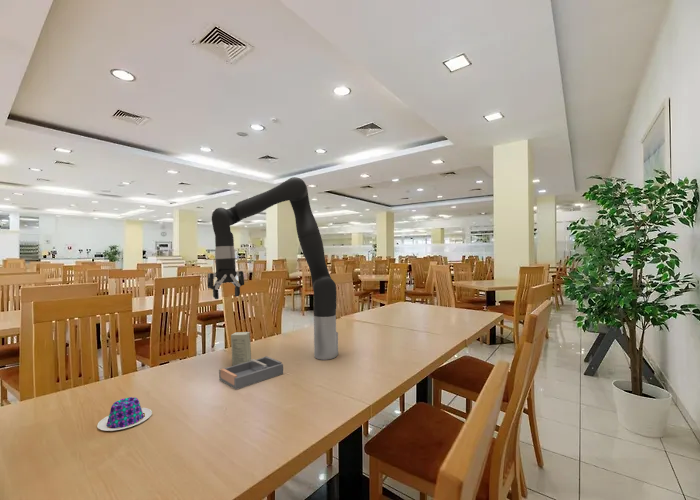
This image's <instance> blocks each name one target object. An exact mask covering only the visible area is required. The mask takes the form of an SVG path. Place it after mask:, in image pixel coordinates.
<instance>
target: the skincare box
mask: <svg viewBox="0 0 700 500" xmlns="http://www.w3.org/2000/svg"><path fill="white" fill-rule="evenodd" d="M230 343H231V345H230V346H231V347H230V348H231V362H232V363H231V366H234V365H238V364H242V363H245V362H249V361H250V360H251V359H252V349H251V348H252V347H251V346H252V345H251V331H241V332H240V331H239V332H238V331H237V332H236V331H235V332H234V333H232V334H230Z"/></svg>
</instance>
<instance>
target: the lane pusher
mask: <svg viewBox="0 0 700 500" xmlns="http://www.w3.org/2000/svg"><path fill="white" fill-rule="evenodd" d="M250 367H251V369H252V370H254V371H258V370H262V369H265V368H267V364H264V363H262V362H259V361H257V360H256V359H255V358H251V360H250Z"/></svg>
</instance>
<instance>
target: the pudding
mask: <svg viewBox="0 0 700 500" xmlns="http://www.w3.org/2000/svg"><path fill="white" fill-rule="evenodd" d="M143 413H145V417H144V414H143ZM152 414H153V411H152V410H151V409H150V408H147V407H141V403H140V400H139V399H138V398H137V397H129V396H128V397H126V398H125V397H124V398H120V399H119V400H115V402H114V403H113V404H112V405H111V407H110V411H109V415H107V416H105V417H104V418H102V419H101V420H99V421H98V423H97V426H96V427H97V429H98V430H101V431H108V432H109V431H110V432H113V431H119V430H124V429H128V428H131V427H133V426H137V425H139V424H142V423H144V422H145V421H146V420H147V419H149V418H150V417H151V416H152ZM138 421H139V422H138ZM109 427H110V428H109Z"/></svg>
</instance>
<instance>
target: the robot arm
mask: <svg viewBox="0 0 700 500" xmlns="http://www.w3.org/2000/svg"><path fill="white" fill-rule="evenodd" d="M286 201H289V203H290V205H291V208H292V210H293V214H294V219H295V220H294V221H295V228H296V233H297V234H296V235H297V238H298V241H299V246H300V248H301V251H302V253H303V256H304V259H305V261H306V264H307V266H308V268H309V273H310V277H311V283H312V290H313V346H314V347H313V349H314V353H313V356H314V358H315V359H317V360H322V361H323V360H325V361H326V360H327V361H328V360H332V359H334V358H336V357H337V356H339V332H338V331H337V285H336V282H335V281H334V280H333V279H332V277H331V274H330V272H329V268H328V266H327V264H326V257H325V249H324V243H323V239H322V235H321V231H320V229H319V226H318V224H317V220H316V217H315V215H314V213H313V211H312V209H311V203H310V198H309V191H308V186H307V184H306V183H305V181H304V180H303V179H302V178H300V177H297V176H294V177H293V176H292V177H290V178H289V179H286V180H285V181H283V182H281V183H280V184H279V185H277V186H274V187H273V188H270V189H269V190H266V191H264V192H261V193H260V194H255V195H253V196H250V197H248V198H245V199H243V200H241V201H238V202H236V203H235V204H234V205H233V206H231V207H229V208H227V209H226V208H223V207H217V208H215V209H214V210H213V212H212V214H211V223H212V229H213V234H214V239H215V240H214V242H215V247H214V248H215V249H214V250H215V251H214V258H215V272H214V273H212V272H209V273H208V274H207V288H208V289H210V290H212V297H213V298H214V299H215V300H219V299H220V296H219V295H220V294H219V287H221V285H222V284H227V283H232V284H233V286H234V297H236V298H237V297H239V296H240V294H241V287H242V286H244V285H245V278H244V276H245V275H244V271H243V270H237V271H236V252H235V243H234V241H235V240H234V234H233V233H232V231H231V226H233V225H236V224H238V223H239V222H240V221H242V220H244V219H247V218H250V217H252V216H255V215H257V214H259V213H262V212H264V211H266V210H267V209H269V208H271V207H273V206H274V205H278V204H281V203H282V202H286ZM236 276H237V278H238V279H237V278H236ZM215 278H216V280H215V282H214V279H215Z"/></svg>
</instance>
